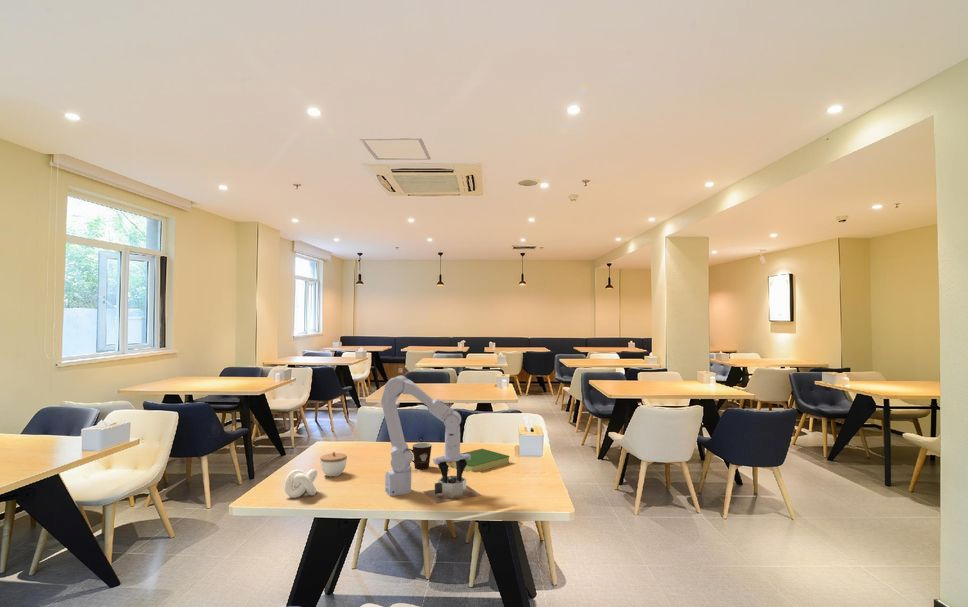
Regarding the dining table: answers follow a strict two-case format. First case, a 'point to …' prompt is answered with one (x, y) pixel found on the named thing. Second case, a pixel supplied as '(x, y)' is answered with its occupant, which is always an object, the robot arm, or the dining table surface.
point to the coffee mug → (421, 455)
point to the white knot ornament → (300, 483)
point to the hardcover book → (483, 460)
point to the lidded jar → (333, 463)
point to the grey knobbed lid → (452, 480)
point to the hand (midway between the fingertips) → (452, 481)
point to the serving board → (439, 499)
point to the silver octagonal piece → (451, 488)
